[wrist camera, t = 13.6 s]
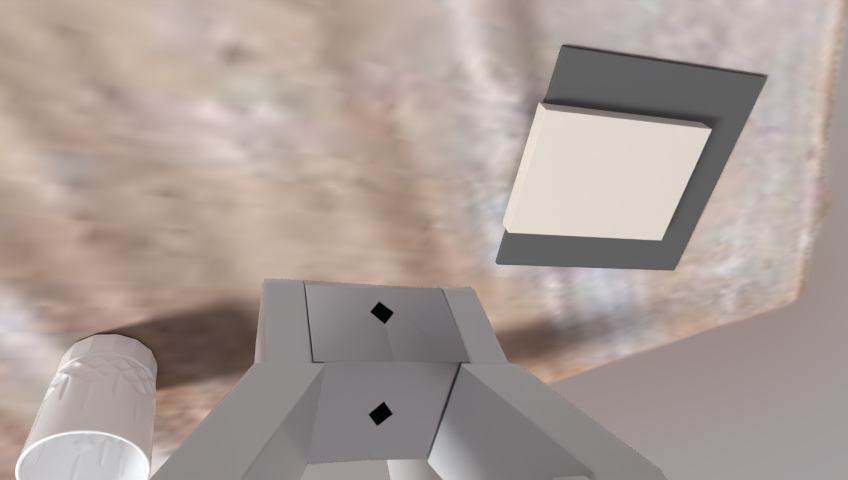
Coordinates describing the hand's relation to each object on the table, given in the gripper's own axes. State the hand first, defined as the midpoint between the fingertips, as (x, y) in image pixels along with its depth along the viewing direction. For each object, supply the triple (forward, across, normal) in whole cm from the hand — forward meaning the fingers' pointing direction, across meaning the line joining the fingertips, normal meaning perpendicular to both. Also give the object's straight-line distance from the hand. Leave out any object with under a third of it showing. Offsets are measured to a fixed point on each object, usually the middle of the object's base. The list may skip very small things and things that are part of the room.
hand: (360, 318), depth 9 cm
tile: (+32, -19, +13) cm, 39 cm away
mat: (+33, -28, +12) cm, 45 cm away
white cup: (+33, +10, +33) cm, 47 cm away
